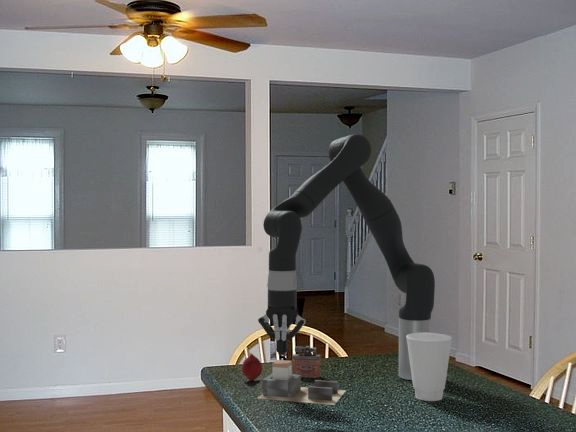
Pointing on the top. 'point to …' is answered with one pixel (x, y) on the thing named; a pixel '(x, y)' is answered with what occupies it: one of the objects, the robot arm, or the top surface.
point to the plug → (282, 370)
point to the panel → (301, 391)
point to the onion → (252, 367)
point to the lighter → (306, 362)
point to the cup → (429, 363)
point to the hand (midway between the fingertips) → (281, 354)
